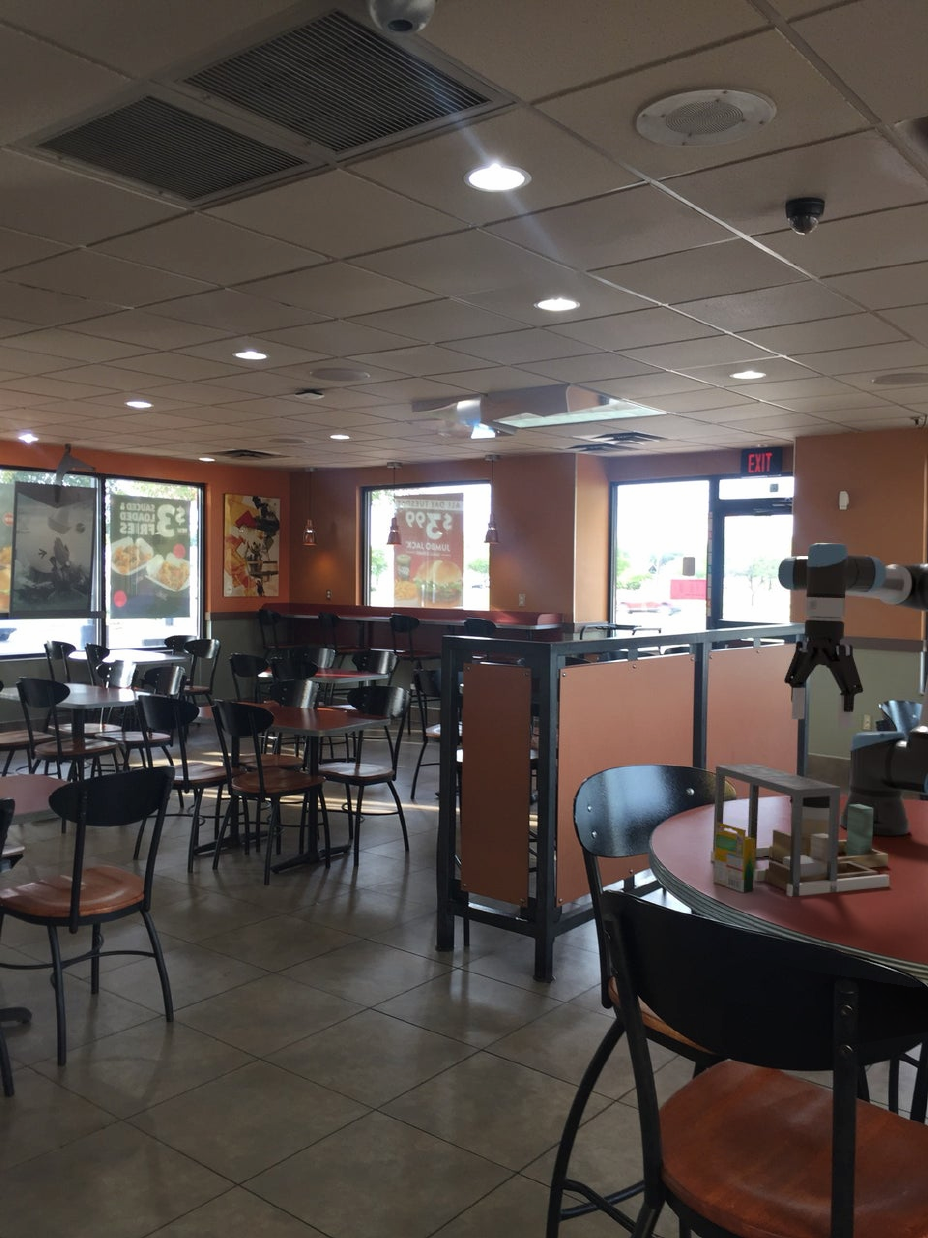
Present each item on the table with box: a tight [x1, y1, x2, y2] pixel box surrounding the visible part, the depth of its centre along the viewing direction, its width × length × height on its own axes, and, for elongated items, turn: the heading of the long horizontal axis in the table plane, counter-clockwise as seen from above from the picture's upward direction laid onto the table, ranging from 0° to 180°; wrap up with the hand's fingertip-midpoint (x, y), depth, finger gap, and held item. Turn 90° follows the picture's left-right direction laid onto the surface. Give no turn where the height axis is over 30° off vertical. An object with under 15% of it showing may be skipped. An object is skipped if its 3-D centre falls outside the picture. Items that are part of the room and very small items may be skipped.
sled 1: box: [768, 804, 889, 869], centre depth 203 cm, size 20×12×11 cm, turn 111°
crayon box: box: [713, 822, 756, 894], centre depth 184 cm, size 7×3×12 cm, turn 33°
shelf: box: [712, 763, 842, 897], centre depth 192 cm, size 10×24×20 cm, turn 21°
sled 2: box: [765, 833, 879, 892], centre depth 187 cm, size 20×8×9 cm, turn 111°
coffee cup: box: [789, 796, 830, 841], centre depth 201 cm, size 9×9×15 cm
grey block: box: [782, 855, 823, 877], centre depth 186 cm, size 5×5×5 cm
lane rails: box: [710, 845, 890, 897], centre depth 194 cm, size 23×24×2 cm
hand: (820, 723), depth 201 cm, fingers open, 13 cm apart
